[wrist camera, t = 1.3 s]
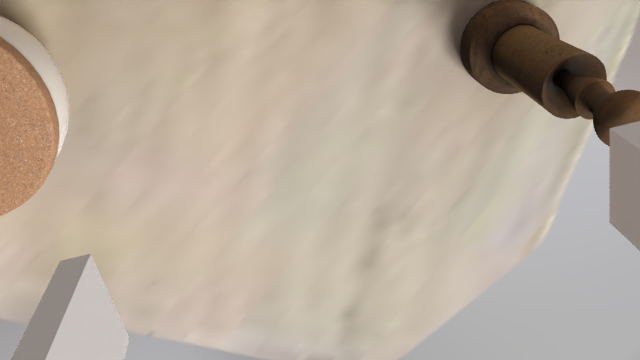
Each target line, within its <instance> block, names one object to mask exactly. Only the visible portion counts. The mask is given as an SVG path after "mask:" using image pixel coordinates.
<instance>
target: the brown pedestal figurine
mask: <svg viewBox="0 0 640 360" xmlns="http://www.w3.org/2000/svg"><path fill="white" fill-rule="evenodd" d="M461 57H462V61H463V64H464V66H465V68H466V70H467V71H468V73H469V74H470V75H471V76H472V77H473V78H474V79H475V80H476V81H477V82H479V83H480V84H481V85H483V86H484V87H485V88H487V89H489V90H491V91H493V92H496V93H501V94H514V93H519V92H524V93H525V94H526V95H528V96H529V97H530V98H532V99H533V100H534V101H536V102H537V103H538V104H539V105H541V106H542V107H543V108H544V109H546V110H547V111H548V112H550V113H551V114H552V115H554V116H556V117H559V118H564V119H570V118H576V117H579V116H581V117H583V118H585V119H593V124H594V129H595V132H596V133H597V135H598V137H599V138H600V139H601V141H603V142H604V143H605V144H607V145H608V146H610V128H613V127H617V126H621V125H625V124H629V123H634V122H638V121H640V92H639V91H635V90H621V91H617V92H615V89H614V87H613V85H612V84H611V83H609V82H608V81H607V76H606V70H605V67H604V65H603V63H602V62H601V61H600V60H599V59H598V58H597V57H595V56H594V55H592V54H590V53H588V52H585V51H583V50H581V49H579V48H576V47H574V46H572V45H570V44H568V43H566V42H563V41H561V40H560V38H559V32H558V29H557V26H556V24H555V23H554V21H553V19H552V18H551V17H550V16H549V15H548V14H547V13H546V12H544V11H543V10H542V9H540V8H538V7H536V6H533V5H531V4H529V3H526V2H523V1H520V0H500V1H497V2H494V3H491V4H489V5H487V6H486V7H484V8H483V9H481V10H480V11H479V12H478V13H477V14H476V15H475V16H474V17H473V18H472V19H471V20H470V22H469V24H468V25H467V27H466V29H465V31H464V34H463V36H462V40H461Z"/></svg>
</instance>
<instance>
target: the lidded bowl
mask: <svg viewBox="0 0 640 360" xmlns="http://www.w3.org/2000/svg"><path fill="white" fill-rule="evenodd" d="M68 122H69V97H68V92H67V87H66V84H65V81H64V78H63V76H62V73H61V71H60V69H59V68H58V66H57V64H56V62H55V60H54V59H53V57H52V56H51V55H50V53H49V52H48V51H47V50H46V48H45V47H44V46H43V45H42V44H41V43H40V42H39V41H38V40H37V39H36V38H35V37H34V36H32V35H31V34H30V33H29V32H27V31H26V30H25V29H23V28H22V27H21V26H19V25H17V24H15V23H14V22H12V21H10V20H8V19H7V18H4V17H2V16H0V216H1V215H3V214H6V213H8V212H10V211H12V210H14V209H16V208H17V207H19V206H21V205H22V204H23V203H25V202H26V201H27V200H28V199H30V198H31V197H32V196H33V195H34V194H35V193H36V191H37V190H38V189H39V188H40V187H41V186H42V184H43V183H44V181H45V180H46V178H47V176H48V174H49V173H50V171H51V169H52V167H53V164H54V161H55V160H56V158H57V156H58V154H59V153H60V151H61V148H62V145H63V142H64V139H65V136H66V133H67V129H68Z"/></svg>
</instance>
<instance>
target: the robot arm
mask: <svg viewBox="0 0 640 360" xmlns="http://www.w3.org/2000/svg"><path fill="white" fill-rule="evenodd" d="M610 223H611V224H612V225H613V226H614V227H615V228H616V229H617V230H618V231H619V232H621V234H622V235H624V236H625V237H626V238H627V239H628V240H629V241H630V242H631V243H632V244H633V245H634V246H636V248H637V249H638V250H640V121H638V122H634V123H629V124H625V125H621V126H617V127H613V128H610ZM128 343H129V336H128V334H127V332H126V330H125V328H124V325H123V323H122V321H121V319H120V317H119V315H118V312H117V310H116V308H115V306H114V304H113V302H112V299H111V297H110V295H109V293H108V291H107V289H106V286H105V284H104V282H103V280H102V278H101V276H100V273H99V271H98V269H97V267H96V265H95V262H94V260H93V258H92V256H91V254H88V255H84V256H80V257H76V258H71V259H67V260H63V261H60V263H59V265H58V267H57V269H56V271H55V273H54V275H53V277H52V279H51V281H50V283H49V285H48V287H47V289H46V291H45V293H44V295H43V297H42V299H41V301H40V303H39V305H38V307H37V309H36V311H35V313H34V315H33V317H32V319H31V321H30V323H29V325H28V327H27V329H26V331H25V333H24V335H23V337H22V339H21V341H20V343H19V345H18V347H17V349H16V351H15V353H14V355H13V357H12V359H11V360H124V358H125V354H126V350H127V347H128Z"/></svg>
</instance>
